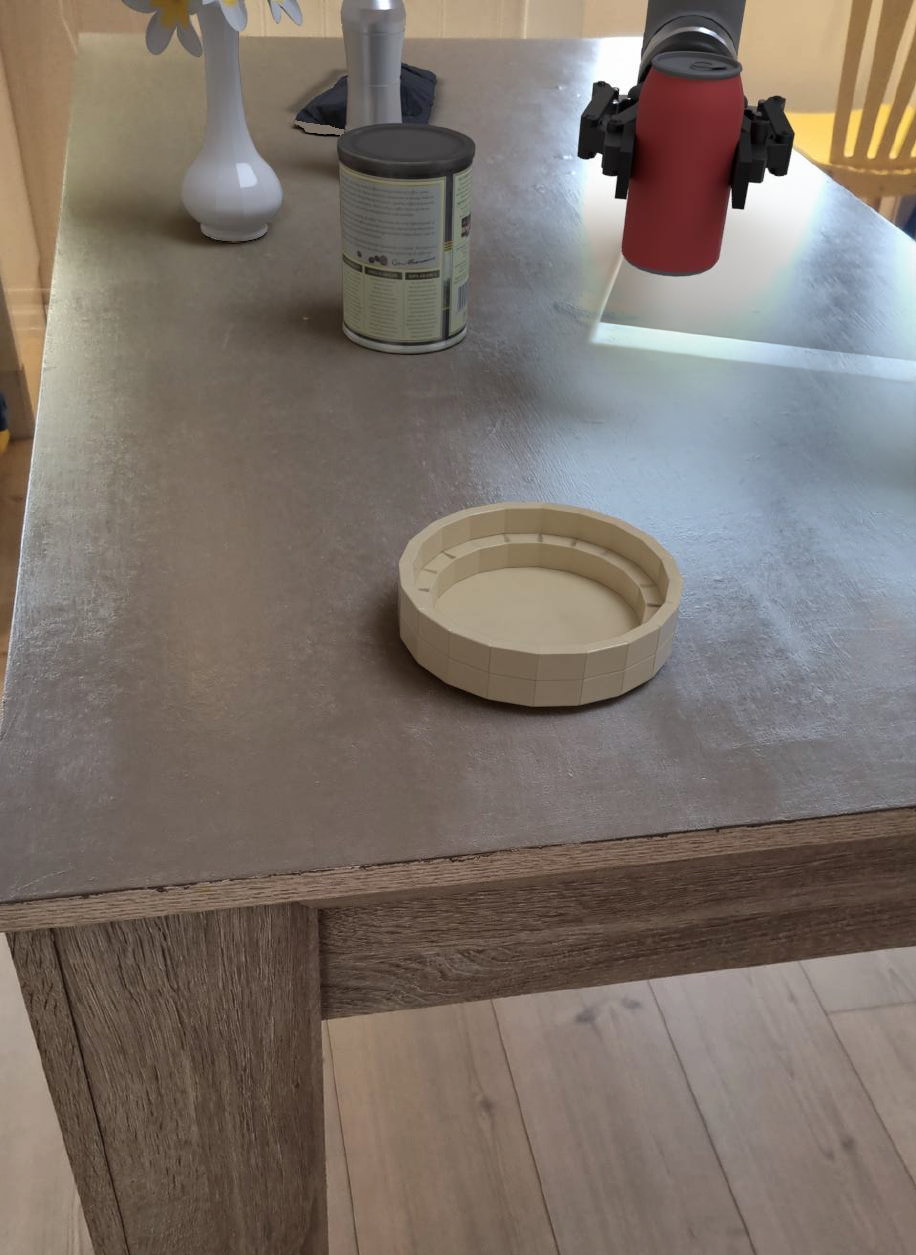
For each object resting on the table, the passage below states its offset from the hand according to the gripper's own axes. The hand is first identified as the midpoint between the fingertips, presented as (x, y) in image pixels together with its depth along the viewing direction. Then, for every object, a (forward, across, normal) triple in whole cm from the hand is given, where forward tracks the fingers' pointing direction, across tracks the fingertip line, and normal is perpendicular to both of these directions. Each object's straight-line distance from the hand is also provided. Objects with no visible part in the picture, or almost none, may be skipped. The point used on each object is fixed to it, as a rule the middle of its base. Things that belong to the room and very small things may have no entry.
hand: (682, 180), depth 80 cm
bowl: (+24, +5, -18) cm, 30 cm away
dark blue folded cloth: (-80, +35, -18) cm, 89 cm away
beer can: (-5, 0, -7) cm, 8 cm away
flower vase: (-36, +39, -18) cm, 56 cm away
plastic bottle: (-56, +30, -18) cm, 66 cm away
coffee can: (-17, +20, -18) cm, 32 cm away
